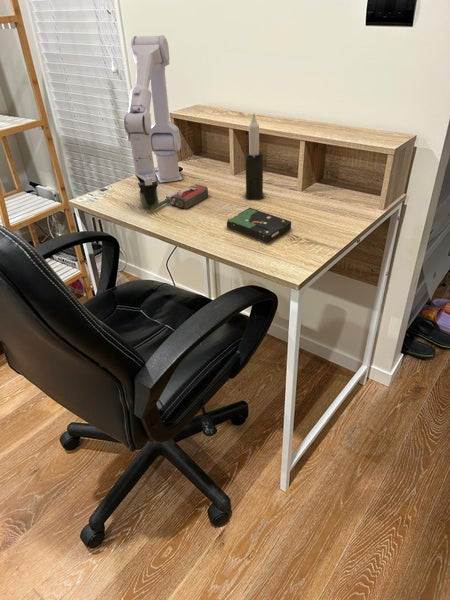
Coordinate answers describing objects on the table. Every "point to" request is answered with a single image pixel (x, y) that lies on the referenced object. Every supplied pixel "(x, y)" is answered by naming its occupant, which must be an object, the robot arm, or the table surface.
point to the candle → (254, 163)
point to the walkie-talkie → (185, 197)
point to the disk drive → (259, 225)
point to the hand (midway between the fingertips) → (149, 199)
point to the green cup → (143, 201)
